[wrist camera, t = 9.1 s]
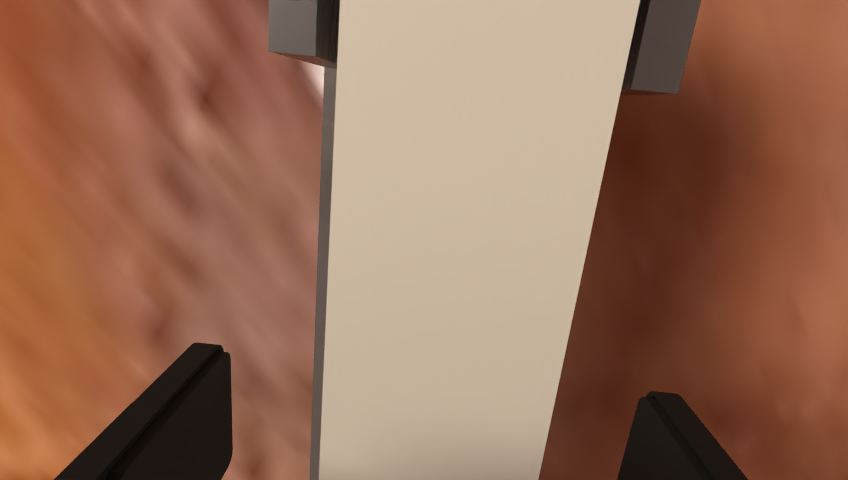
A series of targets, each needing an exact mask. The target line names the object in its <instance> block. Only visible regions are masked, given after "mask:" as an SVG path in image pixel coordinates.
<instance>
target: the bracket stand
mask: <svg viewBox="0 0 848 480" xmlns="http://www.w3.org/2000/svg"><path fill="white" fill-rule="evenodd" d="M700 2H701V0H640V3H639V8H638V13H637V17H636V22H635V27H634V32H633V36H632V41H631V46H630V50H629V55H628V60H627V64H626V69H625V74H624V79H623V83H622V88H621V93H620V95H656V94H678V92H679V88H680V84H681V80H682V76H683V72H684V68H685V63H686V59H687V55H688V51H689V47H690V43H691V39H692V35H693V31H694V27H695V23H696V19H697V15H698V11H699V6H700ZM339 12H340V0H269V52H273V53H276V54H280V55H284V56H287V57H291V58H295V59H298V60H302V61H305V62H309V63H313V64H316V65H320V66H323V67H325V70H324V97H323V125H322V153H321V180H320V208H319V235H318V263H317V290H316V318H315V346H314V373H313V401H312V428H311V456H310V480H319V461H320V439H321V416H322V394H323V371H324V349H325V327H326V304H327V282H328V259H329V237H330V214H331V192H332V169H333V147H334V124H335V102H336V79H337V57H338V34H339Z"/></svg>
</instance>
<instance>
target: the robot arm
mask: <svg viewBox="0 0 848 480" xmlns="http://www.w3.org/2000/svg"><path fill="white" fill-rule="evenodd" d="M232 449H233V447H232V402H231V359H230V354H229V353H228V352H224V351H223V348H222V346H221V345H214V344H205V343H193V344H192V345H191V346H190V347H189V348H188V349H187V350H186V351H185V352H184V353H183V354H182V355H181V356H180V357H179V358H178V359H177V360H176V361H175V362H174V363H173V364H172V365H171V366H170V367H169V368H168V369H167V370H165V371H164V372H163V373H162V374H161V375H160V376H159V377H158V378H157V379H156V380H155V381H154V382H153V383H152V384H151V385H150V386H149V387H148V388H147V389H146V390H145V391H144V392H143V393H142V394H141V395H140V396H139V397H138V398H137V399H136V400H135V401H134V402H133V403H131V404H130V405H129V406H128V407H127V408H126V409H125V410H124V411H123V412H122V413H121V414H120V415H119V416H118V417H117V418H116V419H115V420H114V421H113V422H112V423H111V424H110V425H109V426H108V427H107V428H106V429H105V430H104V431H103V432H102V433H101V434H100V435H99V436H98V437H97V438H96V439H95V440H94V441H93V442H92V443H91V444H90V445H89V446H88V447H87V448H86V449H85V450H84V451H82V452H81V453H80V454H79V455H78V456H77V457H76V458H75V459H74V460H73V461H72V462H71V463H70V464H69V465H68V466H67V467H66V468H65V469H64V470H63V471H62V472H61V473H60V474H59V475H58V476H57V477H56V478H55V479H54V480H221V479H222V477H223V475H224V473H225V472H226V470H227V468H228V466H229V464H230V461H231V457H232ZM617 480H748V479H747V478H746V477H745V475H744V474H743V473H742V472H741V470H740V469H739V468H738V467H737V465H736V464H735V463H734V462H733V460H732V459H731V458H730V457H729V455H728V454H727V453H726V452H725V451H724V449H723V448H722V447H721V446H720V444H719V443H718V442H717V441H716V439H715V438H714V437H713V436H712V434H711V433H710V432H709V431H708V429H707V428H706V427H705V426H704V424H703V423H702V422H701V421H700V420H699V418H698V417H697V416H696V415H695V413H694V412H693V411H692V410H691V408H690V407H689V406H688V405H687V403H686V402H685V401H684V400H683V398H682V397H681V396H679V395H678V394H673V393H664V392H654V391H651V392H649V393H648V394H647V396H646V397H641V398H640V400H639V402H638V405H637V409H636V413H635V416H634V420H633V424H632V427H631V431H630V435H629V438H628V442H627V446H626V449H625V453H624V457H623V460H622V464H621V468H620V471H619V475H618V479H617Z"/></svg>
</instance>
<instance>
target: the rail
mask: <svg viewBox="0 0 848 480" xmlns="http://www.w3.org/2000/svg"><path fill="white" fill-rule="evenodd" d="M639 3H640V0H340V12H339V34H338V57H337V79H336V102H335V124H334V147H333V169H332V192H331V214H330V237H329V259H328V282H327V304H326V327H325V349H324V371H323V394H322V416H321V439H320V461H319V480H538V479H539V474H540V469H541V464H542V460H543V455H544V450H545V446H546V441H547V436H548V432H549V427H550V422H551V417H552V413H553V408H554V403H555V399H556V394H557V389H558V384H559V380H560V375H561V370H562V366H563V361H564V356H565V352H566V347H567V342H568V337H569V333H570V328H571V323H572V319H573V314H574V309H575V304H576V300H577V295H578V290H579V286H580V281H581V276H582V272H583V267H584V262H585V257H586V253H587V248H588V243H589V239H590V234H591V229H592V224H593V220H594V215H595V210H596V206H597V201H598V196H599V192H600V187H601V182H602V177H603V173H604V168H605V163H606V159H607V154H608V149H609V144H610V140H611V135H612V130H613V126H614V121H615V116H616V112H617V107H618V102H619V97H620V93H621V88H622V83H623V79H624V74H625V69H626V64H627V60H628V55H629V50H630V46H631V41H632V36H633V32H634V27H635V22H636V17H637V13H638V8H639Z"/></svg>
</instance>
